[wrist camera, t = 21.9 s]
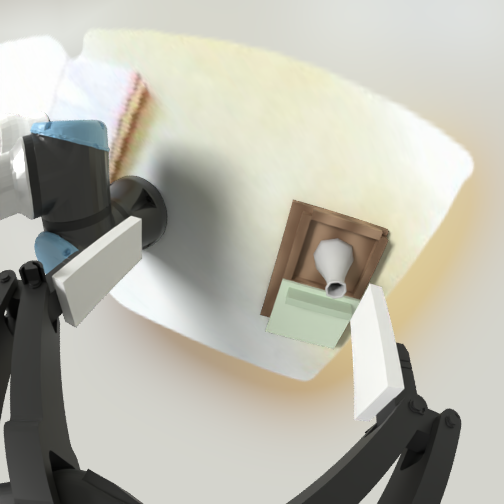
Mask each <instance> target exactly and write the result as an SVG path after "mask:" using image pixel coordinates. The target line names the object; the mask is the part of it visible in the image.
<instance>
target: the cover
mask: <svg viewBox="0 0 504 504" xmlns="http://www.w3.org/2000/svg"><path fill="white" fill-rule="evenodd" d="M359 303H360V300H359V299H355V298H352V297H348V296H343V297H342V298H337V299H333V298H331V297H328V296H326V290H322V289H319V288H315V287H311V286H308V285H304V284H301V283H297V282H294V281H290V280H286V279H282V282H281V286H280V289H279V292H278V295H277V298H276V301H275V304H274V307H273V310H272V313H271V316H270V319H269V322H268V325H267V328H266V331H265V332H269V333H273V334H276V335H280V336H284V337H287V338H291V339H295V340H299V341H303V342H307V343H311V344H315V345H319V346H323V347H327V348H332V349H334V347H335V345H336V344H337V342H338V340H339V339H340V337H341V335H342V334H343V332H344V330H345V328H346V327H347V325H348V323H349V321H350V320H351V318H352V316H353V314H354V312H355V311H356V309H357V307H358V305H359Z"/></svg>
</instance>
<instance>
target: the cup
mask: <svg viewBox="0 0 504 504" xmlns="http://www.w3.org/2000/svg"><path fill="white" fill-rule="evenodd" d="M38 122H49V119H48V117H47V115H46V114H45V113H44V112H40V113H37V114H35V115H33V116H31V117H23V116H20V115H17V114H6V115H2V116H0V154H3V153H6V152H9V151H10V150H11V149H12V148H13V146H14V145H15V143H16V142H17V140H18V139H19V137H22V136H26V135H29V134H31V132H30V129H31V127H32V124H33V123H38Z"/></svg>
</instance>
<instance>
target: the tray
mask: <svg viewBox="0 0 504 504" xmlns="http://www.w3.org/2000/svg"><path fill="white" fill-rule="evenodd" d="M388 232H389V231H388V229H386V228H383V227H380V226H377V225H374V224H371V223H368V222H365V221H362V220H359V219H356V218H353V217H349V216H346V215H343V214H340V213H337V212H333V211H330V210H327V209H324V208H320V207H317V206H313V205H310V204H307V203H303V202H300V201H296V200H293V202H292V206H291V210H290V213H289V217H288V220H287V224H286V228H285V231H284V235H283V238H282V242H281V245H280V249H279V252H278V256H277V259H276V263H275V266H274V270H273V273H272V277H271V280H270V284H269V287H268V290H267V294H266V297H265V300H264V304H263V307H262V310H261V314H260V315H263V316H267V317H270V316H271V313H272V310H273V307H274V304H275V301H276V298H277V295H278V292H279V289H280V286H281V282H282V279H286V280H290V281H294V282H297V283H301V284H304V285H308V286H311V287H315V288H319V289H322V290H325V287H326V285H327V283H326V280H325V279H324V278H323V276H322V275H321V274H320V273H319V271H318V270H317V269H316V266H315V260H314V255H313V254H314V252H315V250H316V249H317V247H318V245H319V243H320V242H321V241H323V240H330V239H337V238H338V239H340V240H342V241H344V242H346V243H348V244H350V245H352V249H353V259H354V261H353V263H352V265H351V266H350V268H349V270H348V272H347V274H346V277H345V281H344V282H345V283H346V290H347V292H346V293H345V295H344V296H348V297H352V298H355V299H359V300H360V298H361V297H362V295H363V293H364V291H365V289H366V287H367V285H368V283H369V281H370V279H371V277H372V275H373V273H374V271H375V268H376V266H377V264H378V262H379V260H380V258H381V256H382V253H383V251H384V249H385V247H386V245H387V242H388V239H387V237H386V236H387V234H388Z"/></svg>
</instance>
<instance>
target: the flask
mask: <svg viewBox="0 0 504 504" xmlns="http://www.w3.org/2000/svg"><path fill="white" fill-rule="evenodd" d="M313 255H314V260H315V266H316V269H317V270H318V271H319V273H320V274H321V275H322V276H323V278H324V279H325V280H326V283H327V285H326V287H325V290H326V296H328V297H331V298H333V299H337V298H342V297H343V296H344V295H345V293H346V292H347V290H346V283H345V282H344V281H345V277H346V274H347V272H348V270H349V268H350V266H351V265H352V263H353V261H354V259H353V249H352V245H350V244H348V243H346V242H344V241H342V240H340V239H338V238H337V239H330V240H323V241H321V242H320V243H319V245H318V247H317V249H316V250H315V252H314V254H313Z"/></svg>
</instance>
